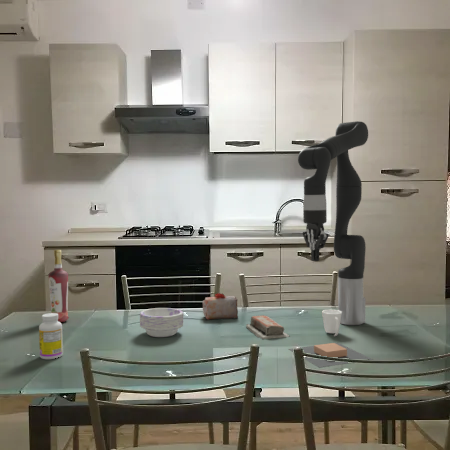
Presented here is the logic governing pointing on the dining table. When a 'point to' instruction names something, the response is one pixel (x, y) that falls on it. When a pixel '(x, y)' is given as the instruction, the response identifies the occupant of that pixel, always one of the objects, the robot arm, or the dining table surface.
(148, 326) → the paper bowls
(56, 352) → the supplement bottle
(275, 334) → the packaged product
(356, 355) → the mat
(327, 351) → the tile
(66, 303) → the liquor
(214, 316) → the food item
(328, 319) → the cup
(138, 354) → the dining table surface
